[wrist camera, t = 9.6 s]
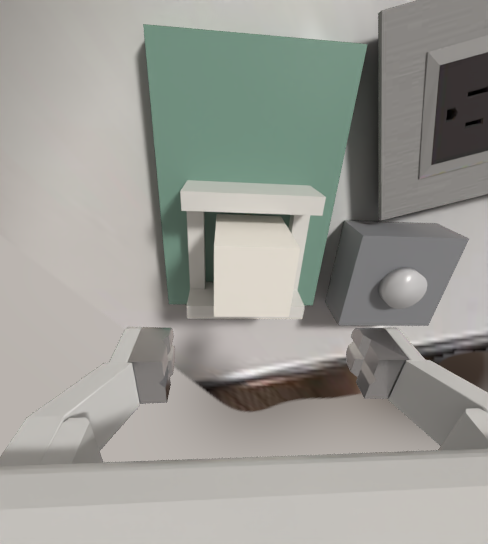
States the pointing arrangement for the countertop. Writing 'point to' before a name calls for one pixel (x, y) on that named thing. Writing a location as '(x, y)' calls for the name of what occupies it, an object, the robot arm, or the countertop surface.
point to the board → (246, 145)
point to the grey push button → (391, 272)
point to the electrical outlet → (432, 104)
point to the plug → (253, 266)
